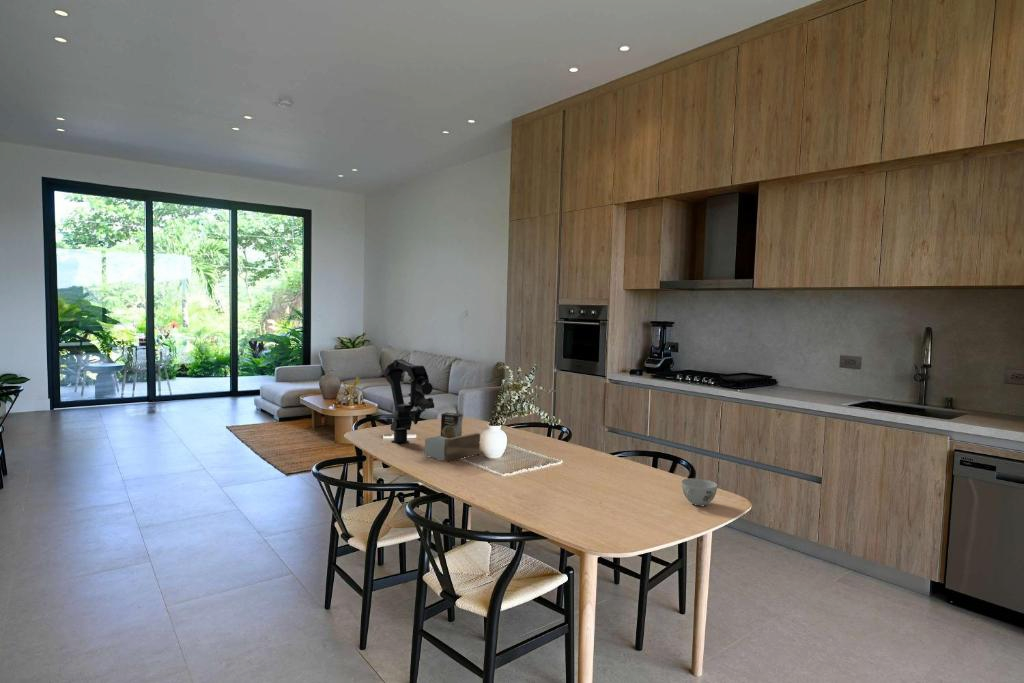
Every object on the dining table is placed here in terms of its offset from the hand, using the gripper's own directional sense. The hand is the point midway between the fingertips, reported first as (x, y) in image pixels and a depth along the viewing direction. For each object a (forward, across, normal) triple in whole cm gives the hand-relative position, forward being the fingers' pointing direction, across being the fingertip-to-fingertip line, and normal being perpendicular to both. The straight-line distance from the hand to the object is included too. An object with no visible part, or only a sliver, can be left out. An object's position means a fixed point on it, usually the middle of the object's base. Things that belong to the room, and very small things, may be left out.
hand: (415, 424), depth 269 cm
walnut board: (+12, +6, -27) cm, 30 cm away
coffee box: (+12, +17, -7) cm, 22 cm away
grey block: (+12, 0, -19) cm, 22 cm away
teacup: (+12, +25, -129) cm, 132 cm away
